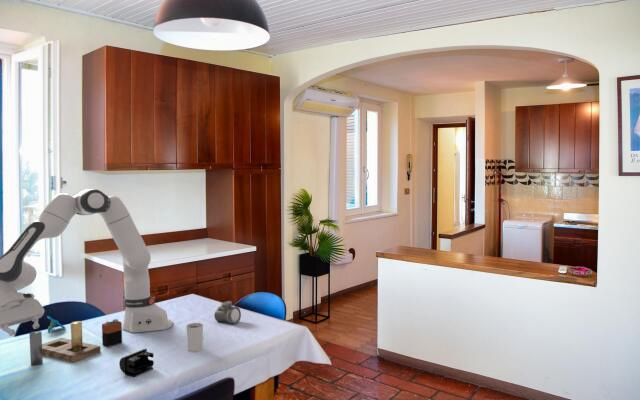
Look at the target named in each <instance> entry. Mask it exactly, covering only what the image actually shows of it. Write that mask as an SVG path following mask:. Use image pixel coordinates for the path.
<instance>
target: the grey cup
mask: <svg viewBox="0 0 640 400" xmlns="http://www.w3.org/2000/svg"><path fill="white" fill-rule="evenodd" d="M203 336H204V324H203V323H201V322H192V323H188V324H187V325H186V338H187V339H186V341H187V351H188V352H191V353H195V352H200V351H203V344H204V343H203V338H204V337H203Z"/></svg>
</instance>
